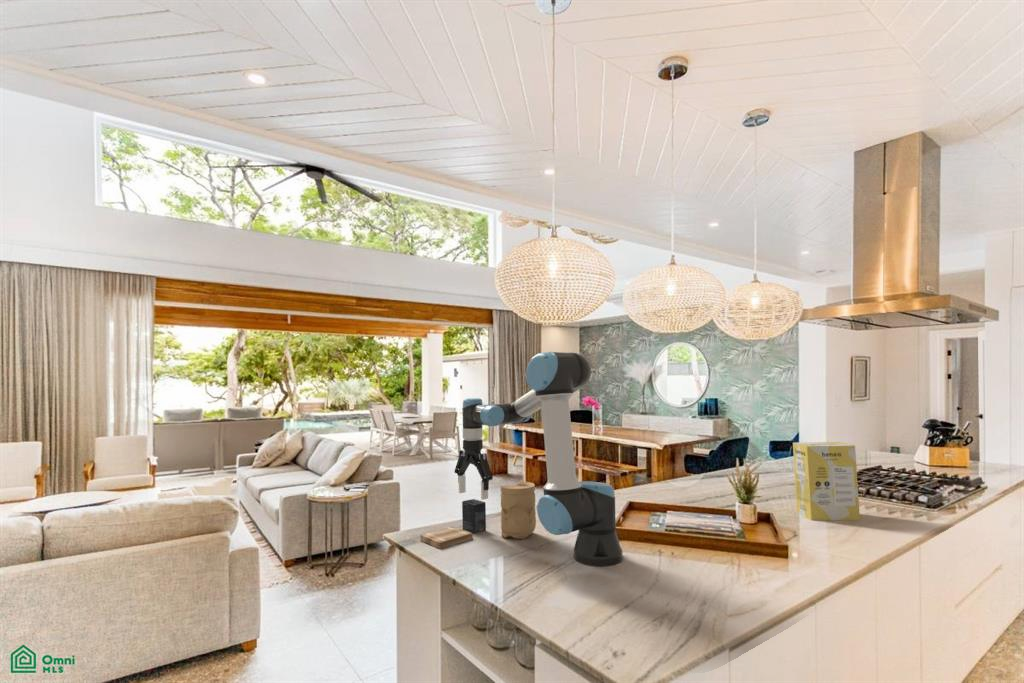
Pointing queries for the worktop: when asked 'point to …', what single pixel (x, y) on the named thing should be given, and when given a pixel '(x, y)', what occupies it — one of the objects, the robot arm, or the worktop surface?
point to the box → (474, 515)
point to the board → (446, 537)
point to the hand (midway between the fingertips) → (473, 495)
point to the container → (518, 510)
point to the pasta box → (826, 481)
